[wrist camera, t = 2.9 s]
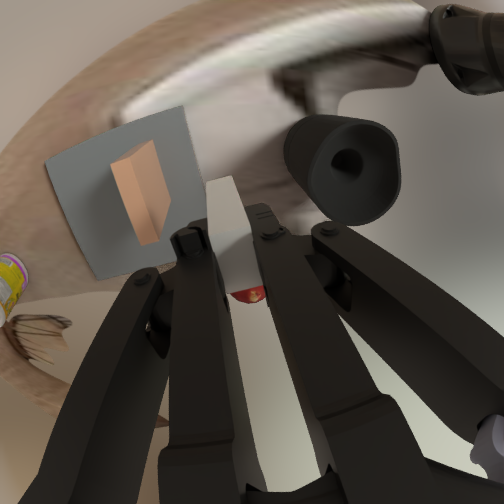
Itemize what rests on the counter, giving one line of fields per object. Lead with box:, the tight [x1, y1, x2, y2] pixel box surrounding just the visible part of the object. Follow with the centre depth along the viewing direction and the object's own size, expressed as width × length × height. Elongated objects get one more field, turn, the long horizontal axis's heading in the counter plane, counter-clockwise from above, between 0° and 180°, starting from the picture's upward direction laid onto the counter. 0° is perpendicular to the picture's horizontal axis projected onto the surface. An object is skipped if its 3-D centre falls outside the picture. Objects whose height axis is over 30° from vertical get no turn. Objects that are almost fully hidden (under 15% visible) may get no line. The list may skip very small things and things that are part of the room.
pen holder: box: [284, 115, 401, 226], centre depth 25 cm, size 9×9×10 cm
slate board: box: [45, 106, 207, 281], centre depth 28 cm, size 17×17×1 cm
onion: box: [230, 285, 266, 304], centre depth 32 cm, size 6×6×8 cm
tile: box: [110, 139, 171, 246], centre depth 23 cm, size 2×7×9 cm, turn 10°
